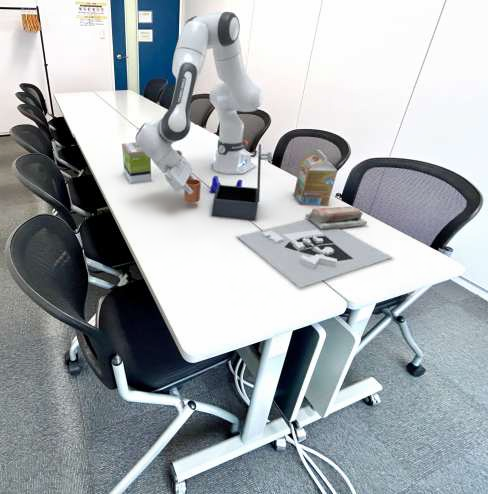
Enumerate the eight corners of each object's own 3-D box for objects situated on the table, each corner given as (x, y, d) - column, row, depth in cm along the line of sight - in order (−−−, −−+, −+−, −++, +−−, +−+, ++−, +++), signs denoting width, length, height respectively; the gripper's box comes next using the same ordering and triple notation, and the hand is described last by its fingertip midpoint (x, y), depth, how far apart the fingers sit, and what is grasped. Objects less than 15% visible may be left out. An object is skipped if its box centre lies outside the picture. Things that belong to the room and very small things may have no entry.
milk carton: (293, 193, 142) (303, 148, 132) (319, 194, 141) (331, 149, 131) (300, 204, 133) (311, 157, 123) (327, 205, 132) (341, 157, 122)
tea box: (123, 173, 164) (121, 142, 156) (143, 171, 167) (142, 141, 159) (130, 184, 152) (128, 151, 144) (151, 181, 155) (151, 149, 147)
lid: (258, 156, 109) (273, 155, 108) (258, 144, 121) (272, 143, 120) (256, 202, 118) (270, 202, 116) (257, 187, 129) (269, 186, 128)
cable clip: (210, 192, 143) (211, 179, 140) (213, 189, 147) (214, 175, 144) (238, 197, 139) (239, 183, 136) (240, 193, 142) (242, 180, 139)
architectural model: (317, 218, 123) (319, 212, 122) (390, 258, 100) (393, 252, 99) (237, 237, 111) (238, 232, 110) (300, 288, 89) (301, 281, 88)
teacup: (191, 194, 135) (192, 177, 131) (203, 199, 131) (204, 182, 127) (180, 199, 132) (181, 181, 128) (191, 204, 128) (192, 186, 124)
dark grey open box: (212, 216, 125) (213, 199, 121) (216, 200, 137) (217, 184, 133) (255, 220, 121) (257, 203, 118) (255, 204, 133) (258, 188, 130)
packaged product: (325, 217, 111) (307, 205, 120) (321, 230, 114) (304, 217, 122) (371, 213, 115) (351, 201, 123) (366, 226, 117) (347, 213, 126)
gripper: (168, 165, 116) (195, 194, 119) (180, 149, 132) (203, 174, 135) (156, 177, 119) (182, 204, 122) (169, 159, 136) (192, 184, 139)
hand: (193, 188), depth 129 cm, fingers closed on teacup, 6 cm apart
